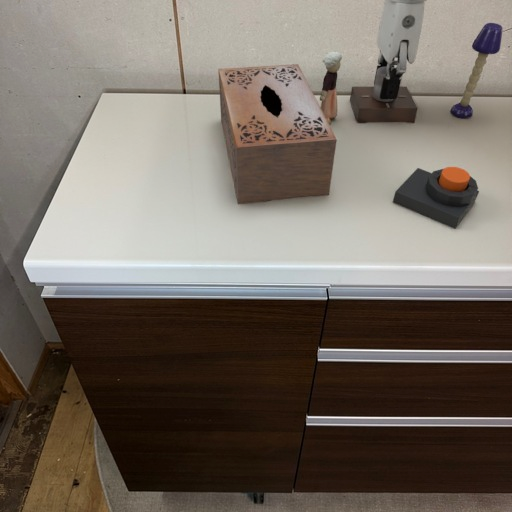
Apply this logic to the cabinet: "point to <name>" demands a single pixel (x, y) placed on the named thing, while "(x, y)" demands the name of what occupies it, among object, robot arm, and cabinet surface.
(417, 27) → the robot arm
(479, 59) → the toy lamp
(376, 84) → the dimmer knob
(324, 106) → the grandmother figurine
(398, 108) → the dimmer panel
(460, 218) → the switch block
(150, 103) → the cabinet surface
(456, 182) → the lamp switch
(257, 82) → the tissue box cover
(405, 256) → the cabinet surface
